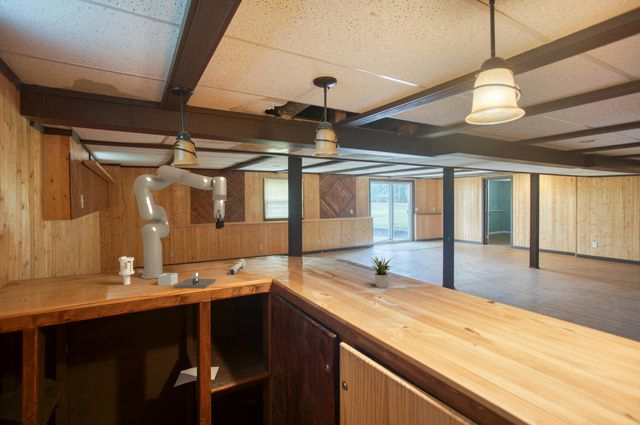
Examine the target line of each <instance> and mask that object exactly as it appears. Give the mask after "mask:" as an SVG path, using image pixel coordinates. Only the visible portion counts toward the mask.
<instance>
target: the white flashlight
mask: <svg viewBox="0 0 640 425" xmlns="http://www.w3.org/2000/svg"><path fill="white" fill-rule="evenodd" d="M246 268H247V262H246V260H245V258H240V259H239V261H238V262H237V263H236V264H234V265H232V266H231V267H230V268H229V270H228V271H227V272H228V274H229V276H234V275H235V274H236V273H238V271H239V269H240V270H241V269H246Z"/></svg>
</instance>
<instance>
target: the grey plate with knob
mask: <svg viewBox="0 0 640 425" xmlns="http://www.w3.org/2000/svg"><path fill="white" fill-rule="evenodd" d="M191 277H192V278H186V279H184V280H182V281H180V282H177V283H175V284H173V288H174V289H206V288H208V287H209V285H210V286H212V285H213V284H215V283H216V282H217V279H216V278H200V272H199V271H192V276H191ZM215 281H216V282H215ZM214 282H215V283H214ZM212 283H213V284H212Z"/></svg>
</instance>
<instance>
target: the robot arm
mask: <svg viewBox="0 0 640 425" xmlns="http://www.w3.org/2000/svg"><path fill="white" fill-rule="evenodd" d="M156 172H157V175H155V174H141V175H139V176H138V177H136V178H135V180H134V182H133V192H134V194H135V197H136V202H137V206H138V211H139V214H140V218H141V219H142V220H143V221H144V222H150V223H146V224H145V225H144V226H143V227H142V229H141V237H142V241H143V242H142V243H143V269H138V272H137V273H138V274H141V276H140V278H141V279H144V280H146V279H147V280H150V279H152V280H153V279H158V276H159V275H161V274H164V273H165V272H163V244H162V241H161V239H163V238H166V237H167V236H169V234H170V231H171V228H170V227H171V226H170V223H169V219H168V214H167V211H166V209H165V208H164V207H163V206H161V205H157V204H155V200H154V196H153V194H152V193H151V190H154V191H159V190H163V189H165V188H166V187H169V186H171V185H172V184H174V183H176V184H179V185H183V186H188V187H190V188H194V189H199V190H205V191H206V190H207V191H212V201H213V203H214V204H213V218H214V219H215V229H216V230H220V229H223V228H224V227H225V219H224V217H225V211H226V210H225V206H226V205H225V204H226V203H225V202H227V199H228V198H227V177H224V176H214V177H212V176H211V177H210V176H205V175H201V174H196V173H193V172H190V171H188V170H186V169H181V168H179V167H175V166H172V165H171V166H170V165H168V164H165V165H160V166H159V168H157V171H156Z"/></svg>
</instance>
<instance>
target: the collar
mask: <svg viewBox="0 0 640 425" xmlns="http://www.w3.org/2000/svg"><path fill="white" fill-rule="evenodd" d="M163 273H164V274H161V275H159V276H158V278H157V286H174V285H176V284H178V283H179V282H178V280H179V279H178V278H179V277H178V276H179V273H178V272H163Z"/></svg>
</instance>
